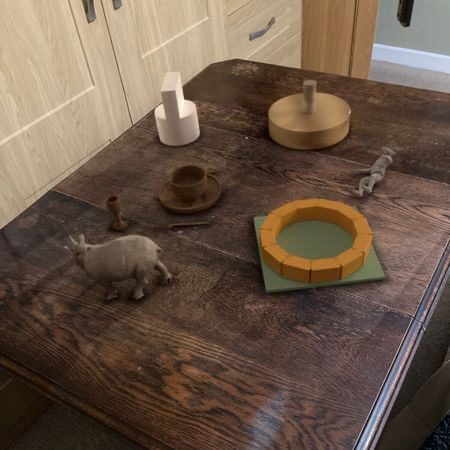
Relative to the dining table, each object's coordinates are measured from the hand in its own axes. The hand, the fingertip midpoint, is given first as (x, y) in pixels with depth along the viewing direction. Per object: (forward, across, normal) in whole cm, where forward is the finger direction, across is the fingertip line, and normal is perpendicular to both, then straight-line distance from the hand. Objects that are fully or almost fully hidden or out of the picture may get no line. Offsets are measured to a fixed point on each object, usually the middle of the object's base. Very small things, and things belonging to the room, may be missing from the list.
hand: (435, 21), depth 68 cm
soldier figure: (+28, -4, +4) cm, 29 cm away
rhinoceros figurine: (+28, -50, -15) cm, 59 cm away
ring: (+28, -18, -12) cm, 35 cm away
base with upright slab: (+28, -40, +30) cm, 57 cm away
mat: (+28, -18, -12) cm, 35 cm away
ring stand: (+28, -12, +26) cm, 40 cm away
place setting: (+28, -42, +6) cm, 51 cm away
